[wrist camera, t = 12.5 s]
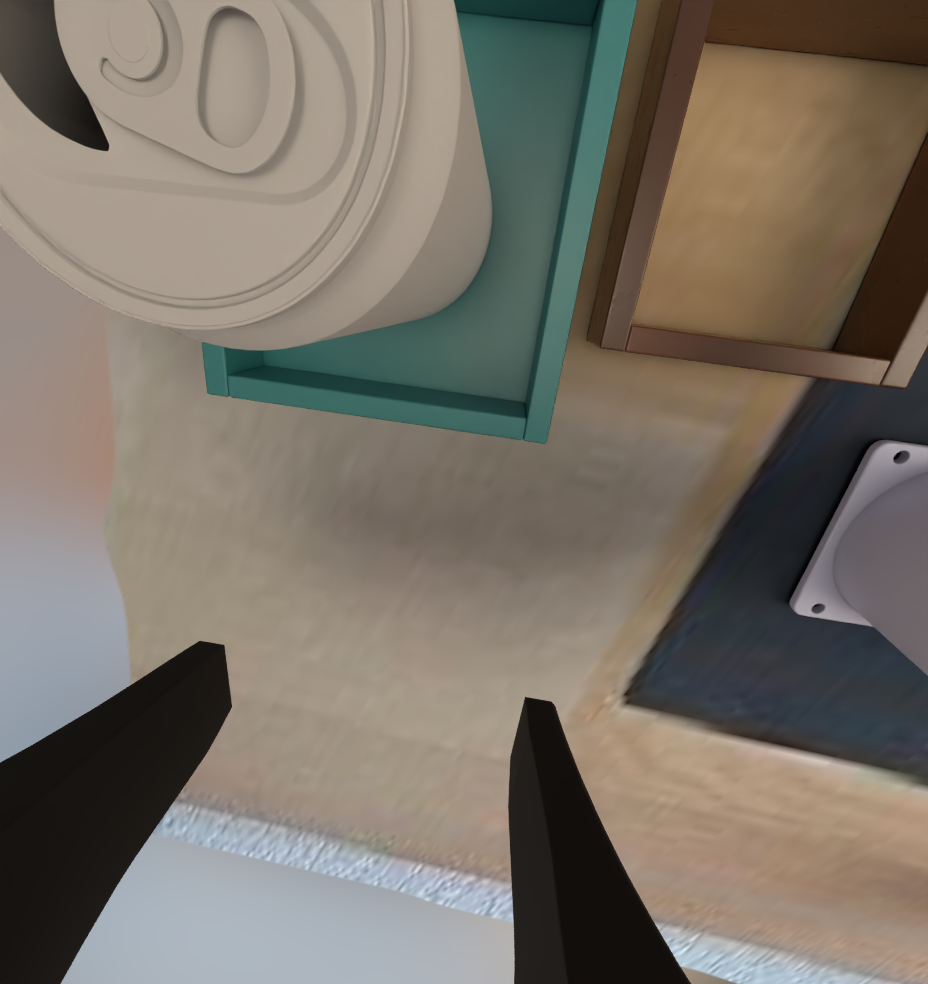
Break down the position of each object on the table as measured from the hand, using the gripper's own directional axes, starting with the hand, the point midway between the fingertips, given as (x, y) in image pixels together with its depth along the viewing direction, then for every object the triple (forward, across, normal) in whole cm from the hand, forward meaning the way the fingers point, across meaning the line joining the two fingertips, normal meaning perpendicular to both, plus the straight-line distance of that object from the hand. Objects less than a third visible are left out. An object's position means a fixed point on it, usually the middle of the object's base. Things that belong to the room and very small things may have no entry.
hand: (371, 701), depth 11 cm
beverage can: (+10, +2, -11) cm, 15 cm away
